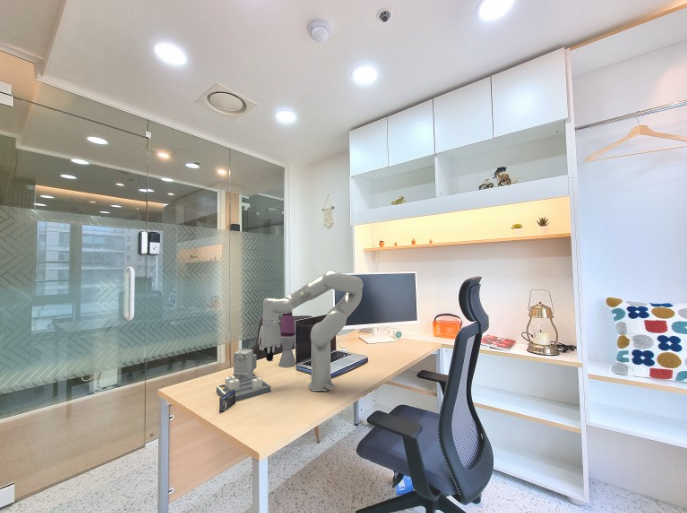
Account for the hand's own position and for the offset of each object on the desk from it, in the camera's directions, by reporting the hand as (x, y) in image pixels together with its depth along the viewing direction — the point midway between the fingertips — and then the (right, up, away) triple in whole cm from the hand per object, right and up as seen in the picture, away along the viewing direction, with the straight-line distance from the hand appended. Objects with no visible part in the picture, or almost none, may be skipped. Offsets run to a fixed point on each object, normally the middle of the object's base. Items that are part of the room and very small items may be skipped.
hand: (269, 360), depth 141 cm
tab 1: (-19, -12, -2) cm, 22 cm away
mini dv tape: (-13, -13, -20) cm, 27 cm away
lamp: (+2, -16, +36) cm, 39 cm away
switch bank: (-12, -14, -4) cm, 18 cm away
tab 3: (-5, -11, -5) cm, 13 cm away
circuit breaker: (-17, -15, +14) cm, 26 cm away
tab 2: (-15, -12, -6) cm, 20 cm away
